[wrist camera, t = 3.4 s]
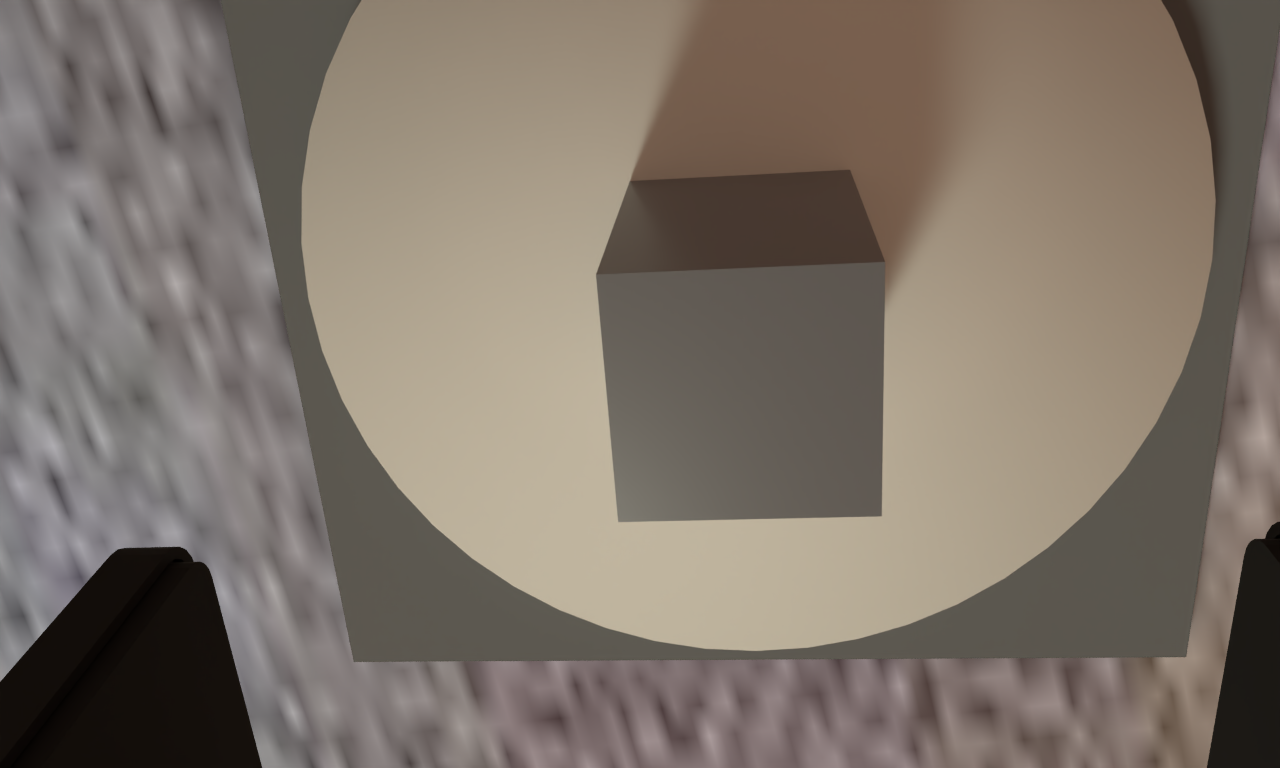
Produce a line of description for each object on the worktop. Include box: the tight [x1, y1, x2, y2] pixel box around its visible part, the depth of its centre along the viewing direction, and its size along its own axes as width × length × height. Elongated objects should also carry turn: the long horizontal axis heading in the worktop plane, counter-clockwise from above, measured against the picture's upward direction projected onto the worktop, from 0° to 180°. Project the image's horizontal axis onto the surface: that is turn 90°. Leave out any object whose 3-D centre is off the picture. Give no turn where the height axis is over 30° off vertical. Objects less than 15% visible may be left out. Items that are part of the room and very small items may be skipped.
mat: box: [221, 0, 1280, 662], centre depth 23 cm, size 19×19×1 cm
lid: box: [301, 0, 1216, 651], centre depth 20 cm, size 17×17×6 cm
